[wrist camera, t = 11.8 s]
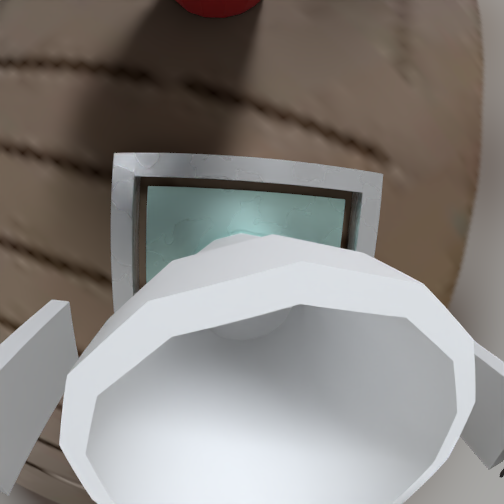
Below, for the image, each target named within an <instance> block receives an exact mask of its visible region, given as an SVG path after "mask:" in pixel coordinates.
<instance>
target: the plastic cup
mask: <svg viewBox="0 0 504 504" xmlns="http://www.w3.org/2000/svg"><path fill="white" fill-rule="evenodd" d="M175 1H176V2H178V3H179V4H180V5H181V6H182V7H183V8H185V9H186V10H187V11H188V12H190V13H194V14H197V15H200V16H203V17H215V18H225V17H229V16H233V15H238V14H242V13H243V12H245V11H247V10H248V9H250V8H252V7H253V6H255V5H256V4H257V3H258V2H260V0H175Z"/></svg>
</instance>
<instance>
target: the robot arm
mask: <svg viewBox="0 0 504 504" xmlns="http://www.w3.org/2000/svg"><path fill="white" fill-rule="evenodd" d="M473 341H474V340H473ZM474 356H475V404H474V406H473V408H472V411H471V413H470V415H469V417H468V420H467V422H466V424H465V426H464V428H463V430H462V432H461V434H460V437H461V438H462V439H463V440H464V441H465V443H466V444H467V445H468V446H469V447H470V448H471V449H472V451H473V452H474V453H475V454H476V455H477V456H478V458H479V459H480V460H481V461H482V462H483V464H484V465H485V466H486V467H487V468H488V469H491V468H492V467H494V466H496V465H498V464H499V463H501V462H502V461H503V460H504V362H503V361H501V360H500V359H499V358H497V357H496V356H495V355H493V354H492V353H490V352H489V351H488V350H486V349H485V348H484V347H482V346H481V345H479V344H478V343H477V342H475V341H474ZM78 359H79V358H78V353H77V348H76V343H75V337H74V331H73V324H72V318H71V311H70V303H69V302H68V301H59V300H51V301H50V302H48V303H47V304H46V305H45V306H44V307H43V308H41V309H40V310H39V311H38V312H37V313H35V314H34V315H33V316H32V317H31V318H30V319H28V320H27V321H26V322H25V323H24V324H23V325H22V326H20V327H19V328H18V329H17V330H16V331H15V332H14V333H12V334H11V335H10V336H9V337H8V338H7V339H6V340H5V341H4V342H3V343H1V344H0V492H2V493H4V494H6V495H8V496H9V494H10V492H11V490H12V487H13V486H14V483H15V481H16V479H17V477H18V475H19V473H20V471H21V469H22V467H23V465H24V463H25V462H26V460H27V458H28V456H29V454H30V452H31V450H32V448H33V446H34V445H35V443H36V441H37V439H38V437H39V435H40V434H41V432H42V430H43V428H44V426H45V425H46V423H47V421H48V419H49V418H50V416H51V414H52V413H53V411H54V409H55V407H56V406H57V404H58V402H59V401H60V399H61V397H62V396H63V394H64V392H65V385H66V379H67V374H68V373H69V372H70V370H71V369H72V367H73V366H74V365H75V363H76V362H77V360H78ZM503 476H504V469H503V470H502V471H501V473H500V477H503Z"/></svg>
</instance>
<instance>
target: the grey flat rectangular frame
mask: <svg viewBox="0 0 504 504" xmlns="http://www.w3.org/2000/svg"><path fill="white" fill-rule="evenodd" d="M141 177H172V178H198V179H218V180H235V181H249V182H262V183H275V184H286V185H296V186H306V187H316V188H325V189H334V190H342V191H350V192H352V202H351V213H350V222H349V231H348V240H347V248H346V249H348V250H353V251H357V252H362V253H365V254H367V255H369V256H371V257H373V258H374V254H375V247H376V239H377V231H378V223H379V214H380V204H381V193H382V181H383V174H380V173H374V172H368V171H362V170H356V169H349V168H342V167H335V166H328V165H321V164H313V163H304V162H296V161H286V160H276V159H266V158H254V157H241V156H226V155H208V154H184V153H114V159H113V173H112V194H111V268H112V289H113V304H114V313H115V312H116V311H117V310H119V309H120V308H121V307H122V306H123V305H124V304H125V303H126V302H127V301H128V300H129V299H130V298H131V297H133V296H134V295H135V294H136V293H137V292H138V291H139V200H140V179H141ZM344 208H345V199H336V198H327V197H317V196H307V195H296V194H285V193H273V192H260V191H246V190H231V189H214V188H193V187H167V186H148V195H147V224H146V284H147V283H148V282H149V281H150V280H151V279H152V278H153V277H155V276H156V275H157V274H158V273H159V272H160V271H161V270H162V269H163V268H165V267H166V266H167V265H168V264H169V263H170V262H171V261H172V260H176V259H180V258H183V257H187V256H191V255H195V254H197V253H198V252H199V251H201V250H202V249H203V248H205V247H206V246H207V245H209V244H210V243H211V242H212V241H214V240H216V239H220V238H224V237H227V236H231V235H235V234H239V233H244V234H249V235H254V236H260V237H263V236H267V235H271V234H275V235H280V236H285V237H290V238H295V239H300V240H305V241H310V242H314V243H319V244H324V245H329V246H334V247H338V248H340V245H341V236H342V227H343V218H344Z"/></svg>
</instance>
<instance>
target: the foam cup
mask: <svg viewBox="0 0 504 504" xmlns="http://www.w3.org/2000/svg"><path fill="white" fill-rule="evenodd" d="M474 404H475V356H474V341H473V339H472V337H471V336H470V335H469V334H468V333H467V331H465V329H464V328H463V327H462V326H461V324H460V323H459V322H458V321H457V320H456V319H455V318H454V316H453V315H452V314H451V313H450V312H449V311H448V310H447V309H446V308H445V306H444V305H443V304H442V303H441V302H440V301H439V300H438V299H437V298H436V297H435V296H434V294H433V293H432V292H431V291H430V290H429V289H428V288H427V287H426V286H425V285H424V284H423V283H421V282H419V281H417V280H415V279H413V278H412V277H410V276H408V275H406V274H404V273H402V272H400V271H398V270H396V269H394V268H392V267H390V266H388V265H387V264H385V263H383V262H381V261H379V260H377V259H375V258H373V257H371V256H369V255H367V254H365V253H362V252H357V251H353V250H348V249H343V248H338V247H334V246H329V245H324V244H319V243H314V242H310V241H305V240H300V239H295V238H290V237H285V236H280V235H275V234H271V235H267V236H263V237H260V236H254V235H249V234H244V233H239V234H235V235H231V236H227V237H224V238H220V239H216V240H214V241H212V242H211V243H210V244H209V245H207V246H206V247H205V248H203V249H202V250H201V251H199V252H198V253H197V254H195V255H191V256H187V257H183V258H180V259H176V260H172V261H171V262H170V263H169V264H168V265H167V266H166V267H165V268H163V269H162V270H161V271H160V272H159V273H158V274H157V275H156V276H155V277H153V278H152V279H151V280H150V281H149V282H148V283H147V284H146V285H145V286H143V287H142V288H141V289H140V290H139V291H138V292H137V293H136V294H135V295H134V296H133V297H131V298H130V299H129V300H128V301H127V302H126V303H125V304H124V305H123V306H122V307H121V308H120V309H119V310H117V311H116V312H115V313H114V314H113V315H112V316H111V317H110V318H109V319H108V320H107V321H106V323H105V324H104V325H103V327H102V328H101V329H100V330H99V332H98V333H97V334H96V336H95V337H94V339H93V340H92V341H91V343H90V344H89V345H88V347H87V348H86V349H85V351H84V352H83V353H82V355H81V356H80V358H79V359H78V360H77V362H76V363H75V365H74V366H73V367H72V369H71V370H70V372H69V373H68V374H67V379H66V385H65V393H64V400H63V409H62V418H61V429H60V443H59V445H60V447H61V449H62V451H63V453H64V454H65V456H66V458H67V460H68V462H69V463H70V465H71V467H72V468H73V470H74V472H75V473H76V475H77V477H78V478H79V480H80V482H81V483H82V485H83V486H84V488H85V489H86V491H87V492H88V494H89V495H90V497H91V498H92V500H94V501H95V502H96V503H98V504H403V503H404V502H405V501H406V500H407V499H408V498H409V497H411V496H412V495H413V494H414V493H415V492H416V491H417V490H418V489H419V488H420V487H421V486H422V485H423V484H424V483H425V482H426V481H427V480H428V479H429V478H430V477H431V476H432V475H433V474H434V473H435V472H436V471H437V470H438V469H439V468H440V467H441V465H442V464H443V463H444V462H445V461H446V460H447V459H448V457H449V456H450V454H451V452H452V450H453V448H454V446H455V444H456V442H457V440H458V438H459V436H460V434H461V432H462V430H463V428H464V426H465V424H466V422H467V420H468V417H469V415H470V413H471V411H472V408H473V406H474Z"/></svg>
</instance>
